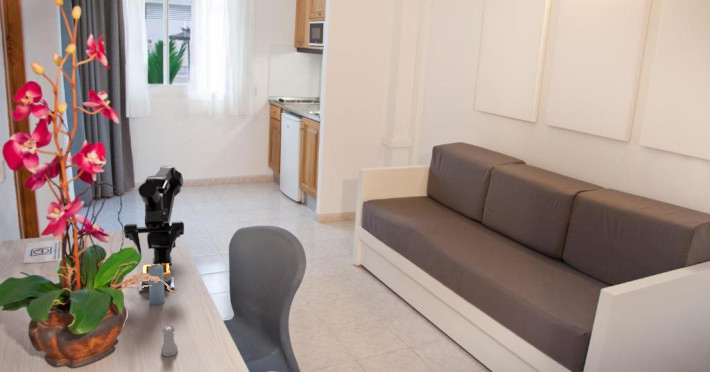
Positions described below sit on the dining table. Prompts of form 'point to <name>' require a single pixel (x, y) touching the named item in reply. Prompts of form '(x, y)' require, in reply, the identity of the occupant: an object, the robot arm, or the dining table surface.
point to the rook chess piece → (169, 342)
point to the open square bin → (167, 278)
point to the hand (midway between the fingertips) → (155, 253)
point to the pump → (156, 285)
